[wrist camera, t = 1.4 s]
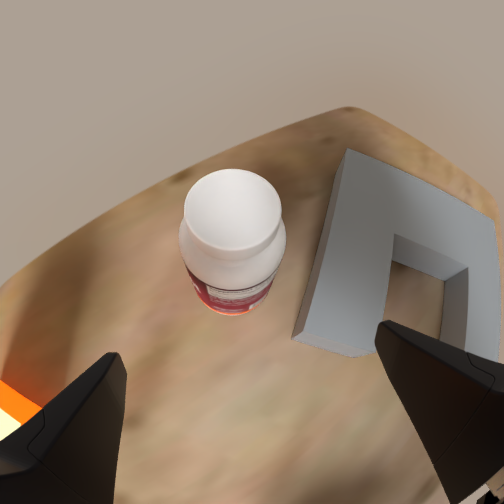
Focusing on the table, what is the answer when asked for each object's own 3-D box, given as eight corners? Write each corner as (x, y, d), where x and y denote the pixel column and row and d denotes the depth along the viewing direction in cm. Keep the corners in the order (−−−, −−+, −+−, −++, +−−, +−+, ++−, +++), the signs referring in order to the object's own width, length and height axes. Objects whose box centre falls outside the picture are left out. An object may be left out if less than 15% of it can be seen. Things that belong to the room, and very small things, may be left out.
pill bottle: (196, 245, 24) (177, 155, 14) (268, 246, 25) (291, 158, 15) (192, 316, 22) (159, 262, 12) (270, 318, 22) (303, 265, 12)
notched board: (468, 383, 20) (495, 379, 16) (291, 339, 22) (303, 331, 18) (474, 236, 27) (493, 220, 24) (335, 173, 29) (347, 147, 25)
